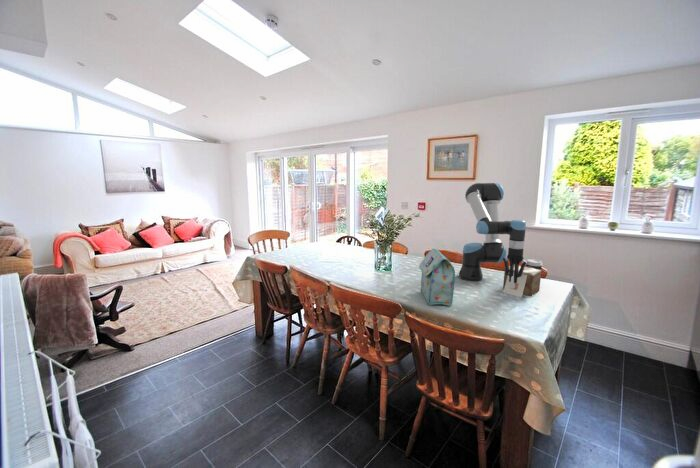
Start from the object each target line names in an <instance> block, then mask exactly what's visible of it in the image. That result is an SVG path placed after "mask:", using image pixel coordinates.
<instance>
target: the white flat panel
mask: <svg viewBox="0 0 700 468" xmlns="http://www.w3.org/2000/svg"><path fill="white" fill-rule="evenodd" d="M513 276H514V272H513ZM526 279H527V275H524V274H522V276H521V277H518V278H517V283H515V288H513V289H512V288H510V284H511V282H509V275H508V276H507V280H506V284H505V288H504V289H503V293H504V294H507V295H512V296H515V297H518V298H522V297H523V295H524V294H523V291H524V287H525V283H526Z"/></svg>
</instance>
